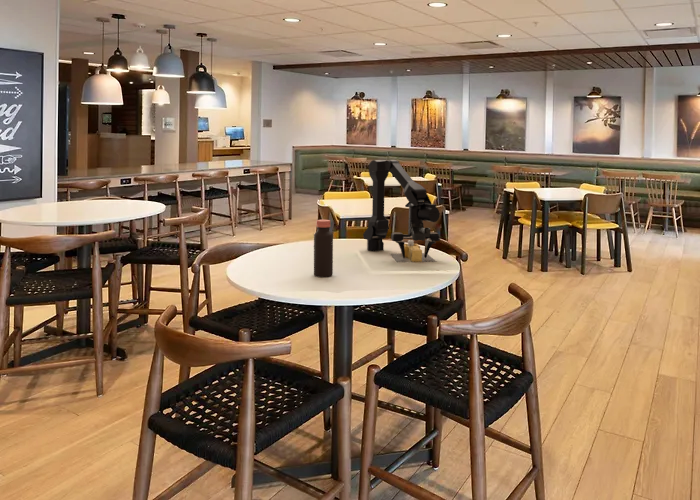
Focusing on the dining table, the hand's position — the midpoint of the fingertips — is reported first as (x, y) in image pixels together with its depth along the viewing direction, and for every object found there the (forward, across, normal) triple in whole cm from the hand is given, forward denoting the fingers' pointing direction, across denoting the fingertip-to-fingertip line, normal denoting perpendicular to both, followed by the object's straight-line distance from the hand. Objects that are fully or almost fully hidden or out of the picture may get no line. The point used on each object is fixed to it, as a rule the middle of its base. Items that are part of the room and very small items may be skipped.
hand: (414, 257), depth 246 cm
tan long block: (+1, 0, +4) cm, 4 cm away
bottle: (+2, -38, -21) cm, 43 cm away
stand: (+2, 0, +4) cm, 5 cm away
